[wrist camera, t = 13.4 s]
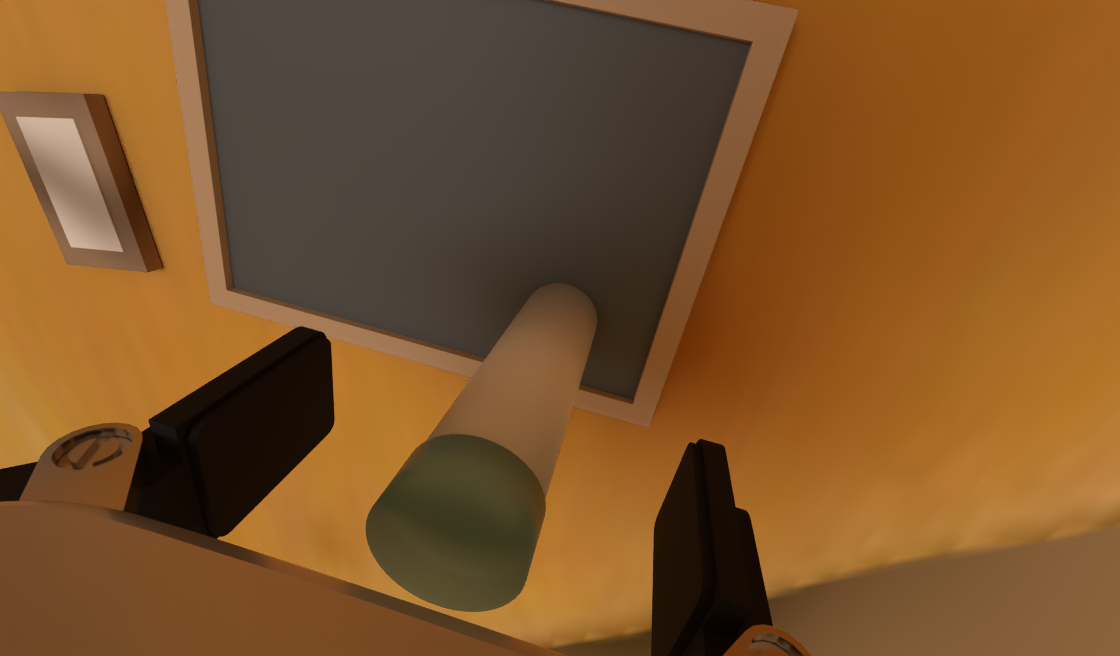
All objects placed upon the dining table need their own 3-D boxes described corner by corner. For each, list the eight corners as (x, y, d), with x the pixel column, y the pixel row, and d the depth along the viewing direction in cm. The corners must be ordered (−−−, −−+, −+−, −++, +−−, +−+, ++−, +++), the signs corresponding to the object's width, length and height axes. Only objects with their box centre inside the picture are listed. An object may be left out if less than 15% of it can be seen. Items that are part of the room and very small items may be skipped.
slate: (179, -105, 17) (146, -120, 16) (789, 17, 15) (799, 9, 14) (230, 295, 24) (210, 303, 23) (648, 413, 22) (648, 428, 21)
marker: (529, 271, 19) (366, 465, 9) (608, 292, 19) (542, 519, 8) (516, 342, 21) (364, 581, 10) (589, 362, 21) (513, 631, 10)
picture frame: (14, 92, 21) (-12, 91, 21) (102, 94, 21) (80, 93, 20) (84, 259, 25) (64, 264, 24) (162, 267, 24) (145, 272, 23)
